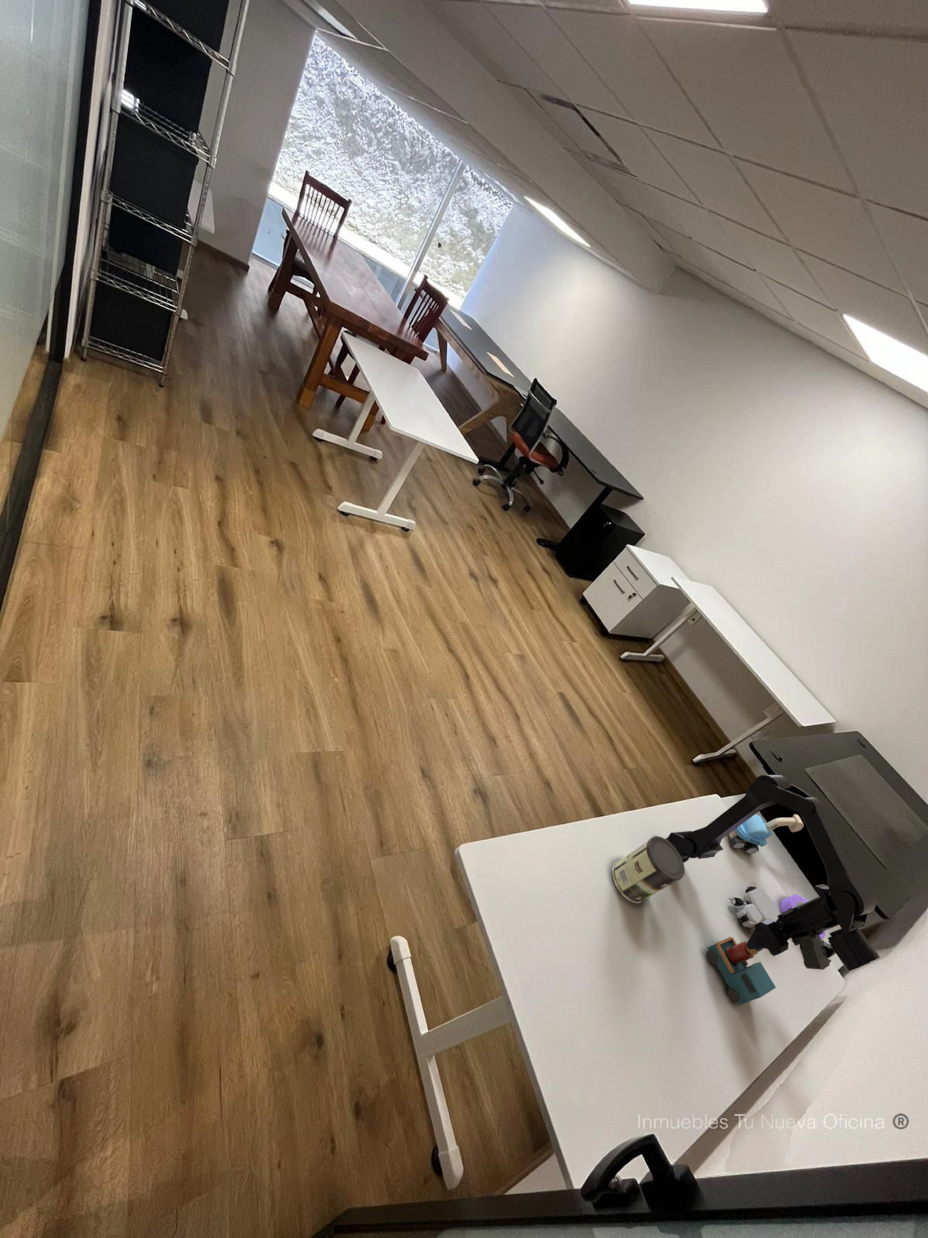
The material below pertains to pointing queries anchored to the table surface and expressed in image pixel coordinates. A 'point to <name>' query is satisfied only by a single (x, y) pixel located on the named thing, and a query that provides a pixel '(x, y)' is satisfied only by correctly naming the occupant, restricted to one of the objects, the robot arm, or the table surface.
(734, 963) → the figure
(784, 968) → the table surface
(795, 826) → the toy excavator
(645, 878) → the coffee can
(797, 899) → the tape roll
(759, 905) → the robot toy
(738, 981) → the truck
